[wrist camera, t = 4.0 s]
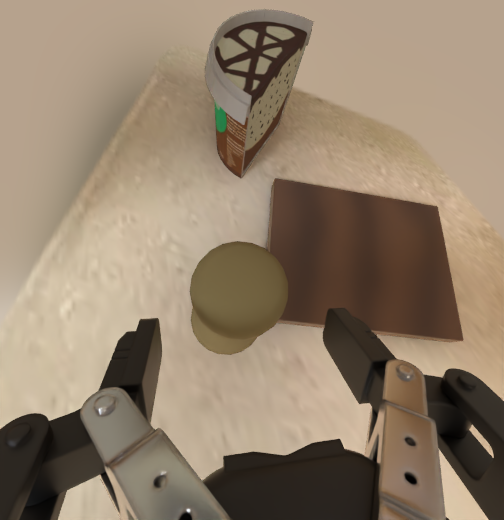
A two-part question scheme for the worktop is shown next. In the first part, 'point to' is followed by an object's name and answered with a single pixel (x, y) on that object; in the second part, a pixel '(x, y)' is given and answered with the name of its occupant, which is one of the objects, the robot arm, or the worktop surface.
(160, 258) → the worktop surface
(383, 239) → the cutting board
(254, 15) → the food container
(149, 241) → the worktop surface
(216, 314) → the cork
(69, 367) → the worktop surface
